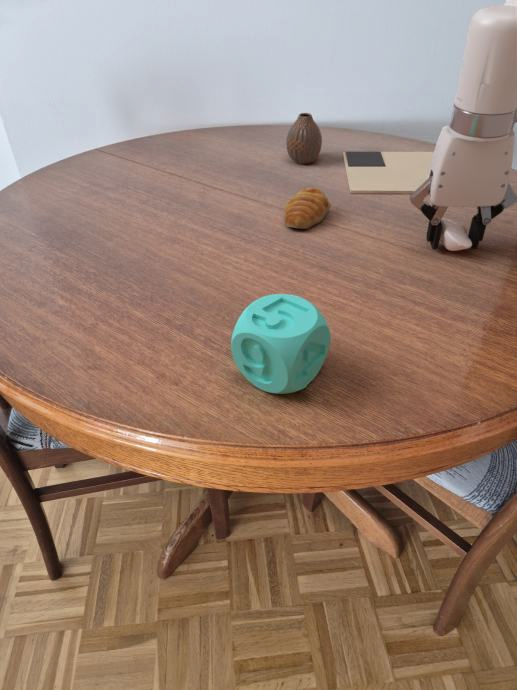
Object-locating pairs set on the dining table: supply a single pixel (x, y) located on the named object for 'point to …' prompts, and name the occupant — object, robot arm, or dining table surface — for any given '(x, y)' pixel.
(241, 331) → the decorative dice
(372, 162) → the mat
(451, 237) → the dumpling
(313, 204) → the pastry
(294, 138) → the vase
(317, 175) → the dining table surface
